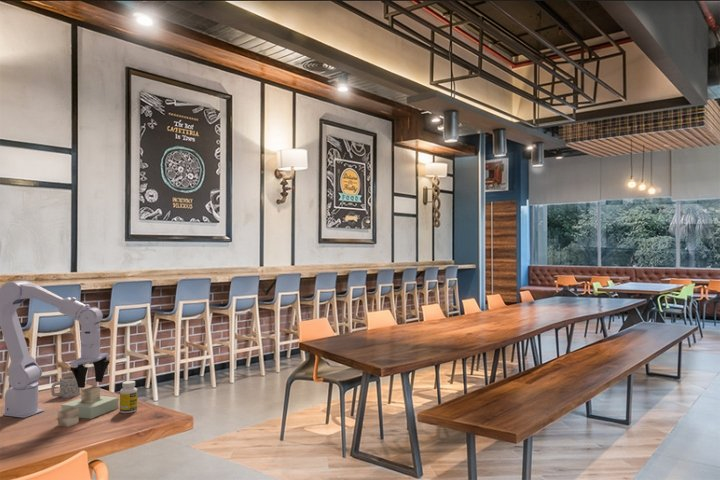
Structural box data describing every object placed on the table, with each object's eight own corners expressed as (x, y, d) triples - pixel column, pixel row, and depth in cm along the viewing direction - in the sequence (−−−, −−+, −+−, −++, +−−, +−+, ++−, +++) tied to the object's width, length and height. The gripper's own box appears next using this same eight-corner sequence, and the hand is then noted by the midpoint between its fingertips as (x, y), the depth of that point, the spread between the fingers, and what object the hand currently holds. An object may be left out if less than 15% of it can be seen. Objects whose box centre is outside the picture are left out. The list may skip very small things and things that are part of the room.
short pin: (58, 425, 165) (58, 411, 165) (68, 421, 169) (68, 407, 169) (68, 427, 164) (68, 412, 164) (78, 422, 168) (78, 408, 168)
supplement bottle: (130, 414, 176) (130, 384, 176) (116, 413, 177) (116, 383, 177) (140, 409, 181) (140, 380, 181) (126, 408, 182) (126, 379, 183)
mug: (74, 391, 203) (74, 374, 203) (83, 394, 199) (83, 376, 199) (46, 398, 195) (46, 379, 195) (55, 401, 191) (55, 382, 191)
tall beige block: (81, 412, 178) (81, 388, 178) (90, 409, 181) (90, 385, 182) (90, 414, 176) (91, 389, 177) (99, 410, 180) (100, 386, 180)
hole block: (61, 415, 175) (61, 404, 175) (89, 404, 186) (89, 394, 186) (91, 418, 171) (91, 407, 172) (118, 407, 183) (118, 397, 183)
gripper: (83, 348, 171) (82, 391, 171) (116, 340, 185) (116, 380, 185) (65, 347, 173) (65, 389, 173) (99, 339, 187) (99, 378, 187)
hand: (90, 384), depth 179 cm, fingers open, 7 cm apart
